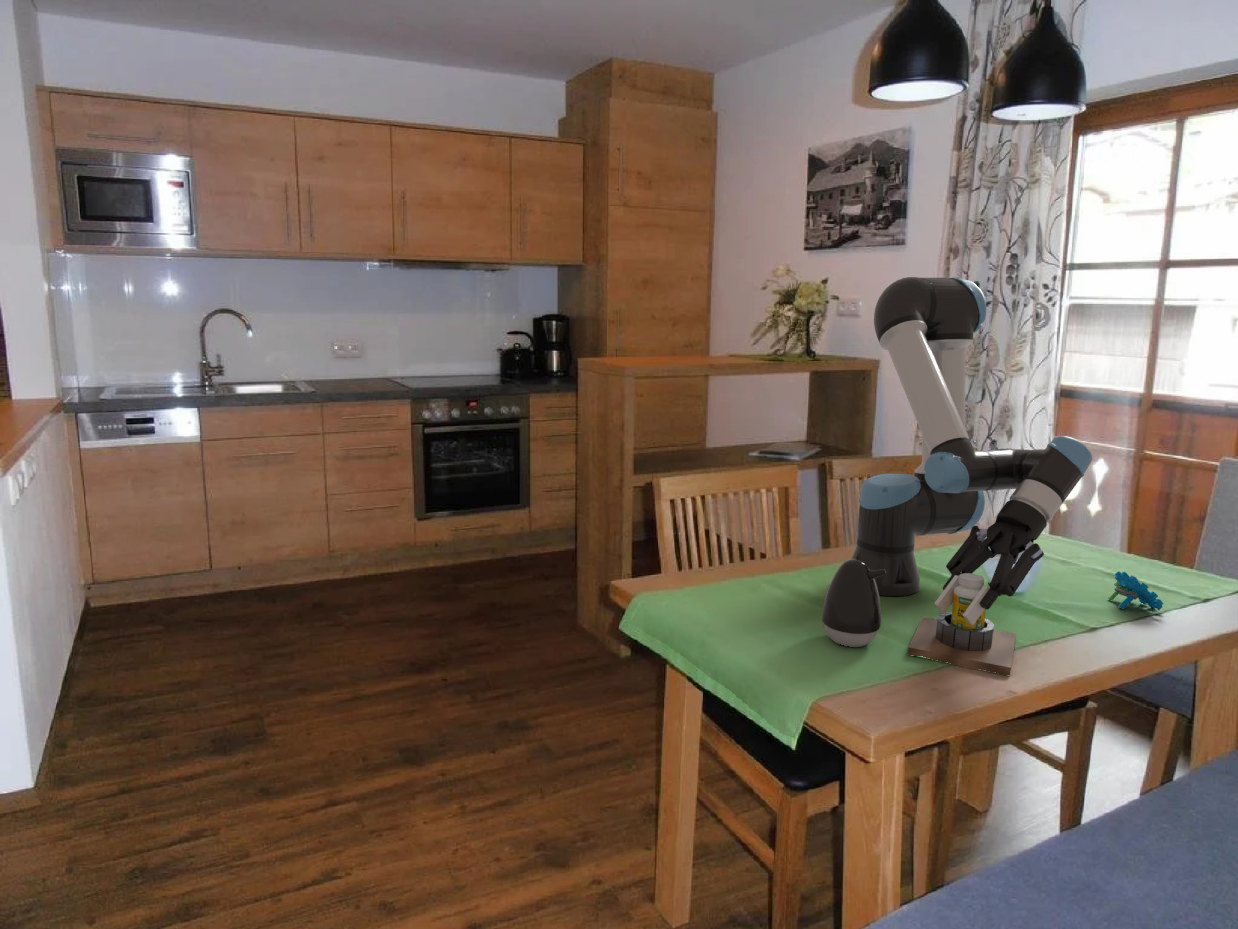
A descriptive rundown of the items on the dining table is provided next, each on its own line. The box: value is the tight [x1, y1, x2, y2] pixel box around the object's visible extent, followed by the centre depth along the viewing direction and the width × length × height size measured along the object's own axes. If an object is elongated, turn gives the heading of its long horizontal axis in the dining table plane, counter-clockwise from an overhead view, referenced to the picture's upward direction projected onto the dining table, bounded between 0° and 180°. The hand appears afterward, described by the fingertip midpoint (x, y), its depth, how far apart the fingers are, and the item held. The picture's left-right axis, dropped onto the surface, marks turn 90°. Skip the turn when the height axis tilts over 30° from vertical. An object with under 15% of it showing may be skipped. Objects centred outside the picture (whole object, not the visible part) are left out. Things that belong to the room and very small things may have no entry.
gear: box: [1107, 570, 1164, 611], centre depth 168 cm, size 11×6×10 cm
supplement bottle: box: [951, 573, 986, 629], centre depth 145 cm, size 5×5×10 cm
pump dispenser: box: [821, 558, 886, 648], centre depth 148 cm, size 10×10×15 cm
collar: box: [936, 611, 995, 651], centre depth 146 cm, size 9×9×4 cm
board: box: [907, 616, 1017, 676], centre depth 147 cm, size 16×16×2 cm
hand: (953, 614), depth 143 cm, fingers closed on supplement bottle, 5 cm apart
